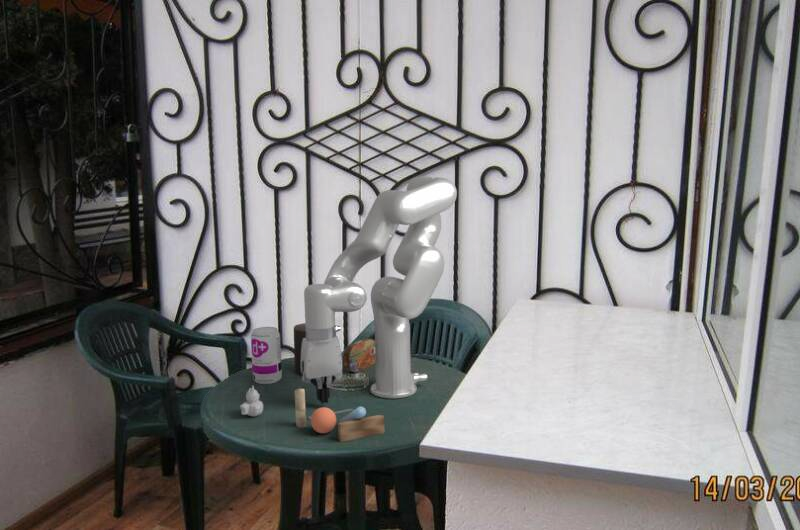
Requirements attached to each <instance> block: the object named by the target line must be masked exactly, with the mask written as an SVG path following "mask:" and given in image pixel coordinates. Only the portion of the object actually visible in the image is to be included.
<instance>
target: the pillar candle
mask: <svg viewBox="0 0 800 530" xmlns="http://www.w3.org/2000/svg"><path fill="white" fill-rule="evenodd" d="M303 338H306V325H305V322H304V323H297V324H295V325H294V326H293V354H294V355H293V356H294V357H293V358H294V373H296V374H297V375H300V376H303V374H302V373H301V347H302V341H303Z"/></svg>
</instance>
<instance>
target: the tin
mask: <svg viewBox="0 0 800 530" xmlns="http://www.w3.org/2000/svg"><path fill="white" fill-rule="evenodd" d="M342 363H343V366H344V369H345V371H348V373H349V372H352V373H355V374H357V372H358V373H359V372H361V371H364V370H366V369H367V368H369V367H372V366H374V365H375V364H376V360H375V338H374V339H373V338H363V339H360V340H358V341H356V342H354V343H351V344H349V345H347V347H346V348H345V350H344V352H343V355H342Z"/></svg>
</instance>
